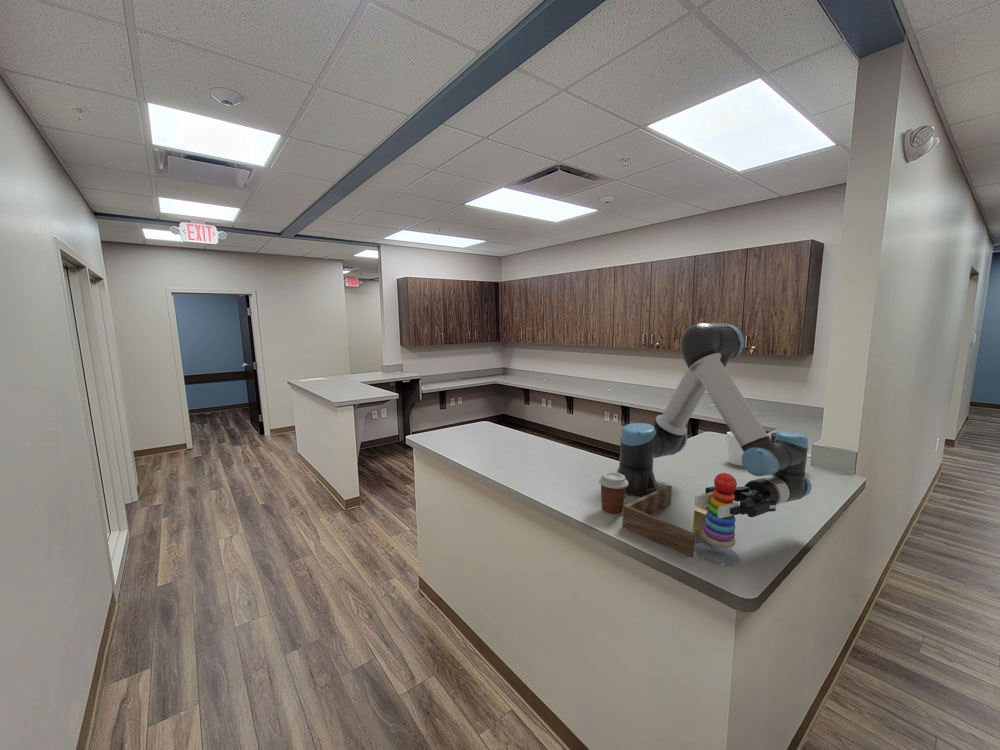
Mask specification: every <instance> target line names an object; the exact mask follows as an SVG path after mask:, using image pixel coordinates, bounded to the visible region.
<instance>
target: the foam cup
mask: <svg viewBox="0 0 1000 750" xmlns="http://www.w3.org/2000/svg"><path fill="white" fill-rule="evenodd" d="M726 439H727V440H726V441H727V454H728V455H727V457H728V463H730V464H732V465H735V466H743V465H742V454H743V453H744V452H743V450H742V448H741V447H740V445H739V443H738V442H737V440H736V439H735V437H734V435H733V434H732V432H731V431H727V432H726Z"/></svg>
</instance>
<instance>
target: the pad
mask: <svg viewBox="0 0 1000 750" xmlns="http://www.w3.org/2000/svg"><path fill="white" fill-rule="evenodd" d="M695 550H696V551H695V552H696V553H697V552H698V553H697V554H698V556H699V557H701V556H702V557H701V558H703V557H704V558H705V559H704V558H703V559H704V560H706V559H707V560H706V561H708V560H709V561H708V562H710V561H711V562H710V563H713V562H714V564H716V563H717V565H720V564H724V565H723V566H734V565H733V564H735V565H737V564H738V563H739V562H740V555H738V553H737V552H736V551H734V549H732V548H731V547H730V548H719V547H715V546H713V545H711V544H709V543H707V542H706V541H703V542H700V543H698V544H697V545H695ZM736 563H737V564H736Z"/></svg>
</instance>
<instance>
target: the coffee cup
mask: <svg viewBox="0 0 1000 750" xmlns="http://www.w3.org/2000/svg"><path fill="white" fill-rule="evenodd" d="M598 483H599V484H600V492H601V493H600V494H601V495H600V497H601V512H602V513H603V514H604V515H605V516H606V515H607V516H610V517H620V516H623V506H624V504H625V498H626V494H625V491H626V487H628V485H629V483H628V481H627V480H626V479H625V476H624V475H622V474H620V473H617V471H616V472H615V471H606V472H603V474H602V475H601V476H600V477H599V478H598Z"/></svg>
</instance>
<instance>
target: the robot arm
mask: <svg viewBox="0 0 1000 750" xmlns="http://www.w3.org/2000/svg"><path fill="white" fill-rule="evenodd" d="M679 343H680V344H679V348H680V349H679V350H680V353H681V356H682V359H683V361H684V363H685V365H686V367H687V368H686V371H684V373H683V375H682V378H681V380H680V381H679V383H678V385H677V387H676V389H675V390H674V392H673V394H672V396H671V398H670V400H669V402H668V404H667V406H666V407H665V409H664V412H663V413H662V414H659V415H657V416H655V419H654V420H653V423H652V424H650V423H643V422H638V423H637V422H634V423H629V424H626V425H624V426H623V427H622V429H621V431H620V432H621V433H620V437H619V438H620V439H619V440H620V443H619V444H620V446H619V464H618V465H619V466H618V468H617V471H616V473H620V474H622V475H624V476H625V479H626V480H627V481H628V483H629V485H628V487H626V491H625V495H629V496H634V497H644V496H646V495H648V494H650V493H652V492H655V491H657V490H658V483H657V480H656V477H655V473H654V459H657V458H661V457H666V456H667V457H669V456H673V455H675V454H677V453H681V451H682V450H683V449H684V448H685V447H686V445H687V441H688V438H687V433H688V429H687V427H686V425H687V424H688V422H689V420H690V418H691V417H692V415H693V413H694V411H695V410H696V408H697V406H698V405H699V403H700V402H701V399H702V397H704V395H705V392H706V393H707V394H708V396H709V397H710V399H711V400H712V402H713V404H714V406H715V407H716V409H717V410H718V412H719V413H720V416H722V419H723V420H724V422H725V424H726V426H727V427H728V428H729V430H730V432H732V434H733V435H734V437H735V439H736V440H737V442H738V443H739V445H740V447H741V448H742V450H743V452H744V453H743V454H742V465H741V466H742V467H743V469H744V470H745V471H747V472H748V473H749V474H751V475H752V476H756V477H761V478H757V479H753V480H750V481H748V482H746V484H745V485H743V486H737V487H736V489H735V490H734V491H733V492H732V493H733V494H734V495H735V499H734V501H733V502H734V503H731V504H727V505H723V506H719V507H718V516H717V517H718V518H724V517H727V516H731V515H734V516H737V515H741V516H742V515H743V516H744V515H747V517H749V518H755V517H757V516H761V515H763V514H766V513H768V512H769V513H770V512H776V510H777V509H776V508H777V505H779V504H785V503H788V502H792V501H798V500H801V499H803V498H804V497H807V496H808V495H810V493H811V491H812V489H813V485H812V483H811V481H810V479H809V477H808V476H807V475H806V469H807V468H806V467H807V458H808V451H809V447H808V446H809V439H808V437H807V436H806V435H804V434H802V433H799V432H795V431H793V432H792V431H778V432H776V433H777V434H776V437H775V443H773V442H772V440H771V436H769V434H768V433H767V431H766V430H765V428H764V426H763V425H762V424H761V422H760V420H759V419H758V418H757V416H756V414H755V413H754V411H753V410H752V408H751V406H750V405H749V403H748V402H747V400H746V399H745V397H744V395H743V394H742V392H741V391H740V389H739V387H738V386H737V384H736V383H735V381H734V380H733V378H732V376H731V375H730V373H729V372H728V370H727V369H726V367H727V365H728V363H729V361H730V360H733V359H735V358H737V357H738V356H739V355H740V354H741V353H742V352H743V350H744V347H745V338H744V335H743V333H742V331H741V330H740V329H739V328H738V327H736V326H735V325H733V324H729V323H728V324H727V323H726V322H725V323H723V322H720V323H706V322H705V323H704V322H700V323H696V324H692V325H691V326H689V327H688V328H687V329H685V330H684V332H683V333H682V335H681V338H680V342H679ZM715 489H716V487H715V485H714V486H708V487H705V490H704V491H705V492H704V493H701V494H698V495H695V497H694V507H696V508H700V507H701V506H703V505H707V504H710V503H711V502H710V499H711V497H712V496H713V491H714V490H715Z"/></svg>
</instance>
